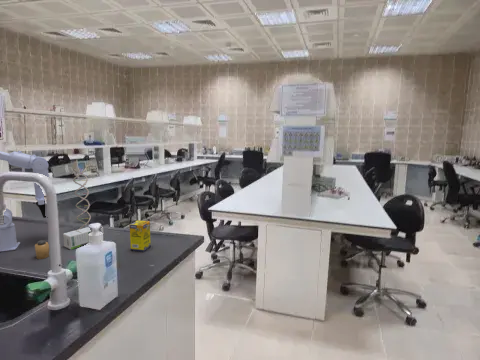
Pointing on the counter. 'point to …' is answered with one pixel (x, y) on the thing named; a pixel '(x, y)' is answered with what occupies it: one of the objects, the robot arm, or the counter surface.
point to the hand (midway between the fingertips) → (46, 217)
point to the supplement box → (140, 235)
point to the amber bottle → (42, 249)
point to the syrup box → (77, 238)
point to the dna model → (82, 197)
